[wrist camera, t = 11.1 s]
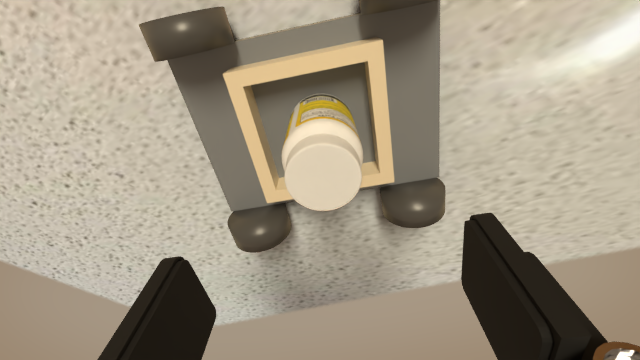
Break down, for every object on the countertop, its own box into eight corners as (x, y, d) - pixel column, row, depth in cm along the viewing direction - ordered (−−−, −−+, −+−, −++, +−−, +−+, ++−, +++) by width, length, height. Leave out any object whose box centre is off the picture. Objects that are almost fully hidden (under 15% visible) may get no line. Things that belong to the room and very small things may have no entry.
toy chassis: (431, -40, 19) (465, -54, 14) (433, 187, 27) (454, 222, 23) (162, 22, 20) (120, 27, 16) (242, 218, 29) (229, 256, 25)
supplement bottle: (321, 163, 24) (321, 232, 17) (276, 124, 23) (256, 181, 15) (366, 123, 23) (388, 179, 15) (321, 77, 21) (323, 116, 14)
